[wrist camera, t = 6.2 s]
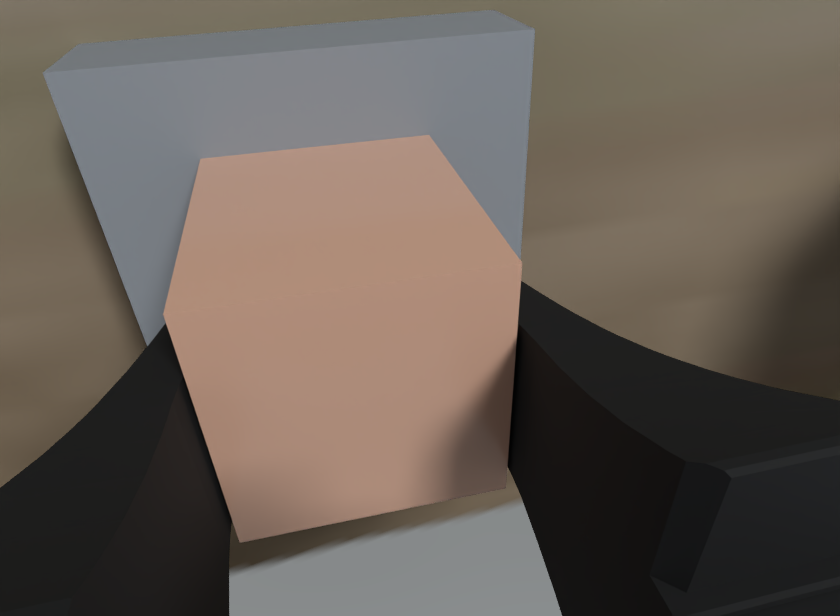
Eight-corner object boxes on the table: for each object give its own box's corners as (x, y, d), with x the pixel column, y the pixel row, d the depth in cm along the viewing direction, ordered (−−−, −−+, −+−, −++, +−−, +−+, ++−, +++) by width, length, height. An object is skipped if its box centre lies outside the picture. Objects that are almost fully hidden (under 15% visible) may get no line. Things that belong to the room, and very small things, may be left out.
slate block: (487, 7, 14) (535, 28, 12) (481, 316, 19) (512, 376, 17) (83, 40, 13) (42, 72, 10) (192, 363, 18) (181, 436, 15)
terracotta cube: (429, 134, 12) (521, 263, 8) (433, 315, 15) (505, 488, 11) (200, 158, 12) (163, 314, 7) (246, 344, 14) (239, 542, 10)
